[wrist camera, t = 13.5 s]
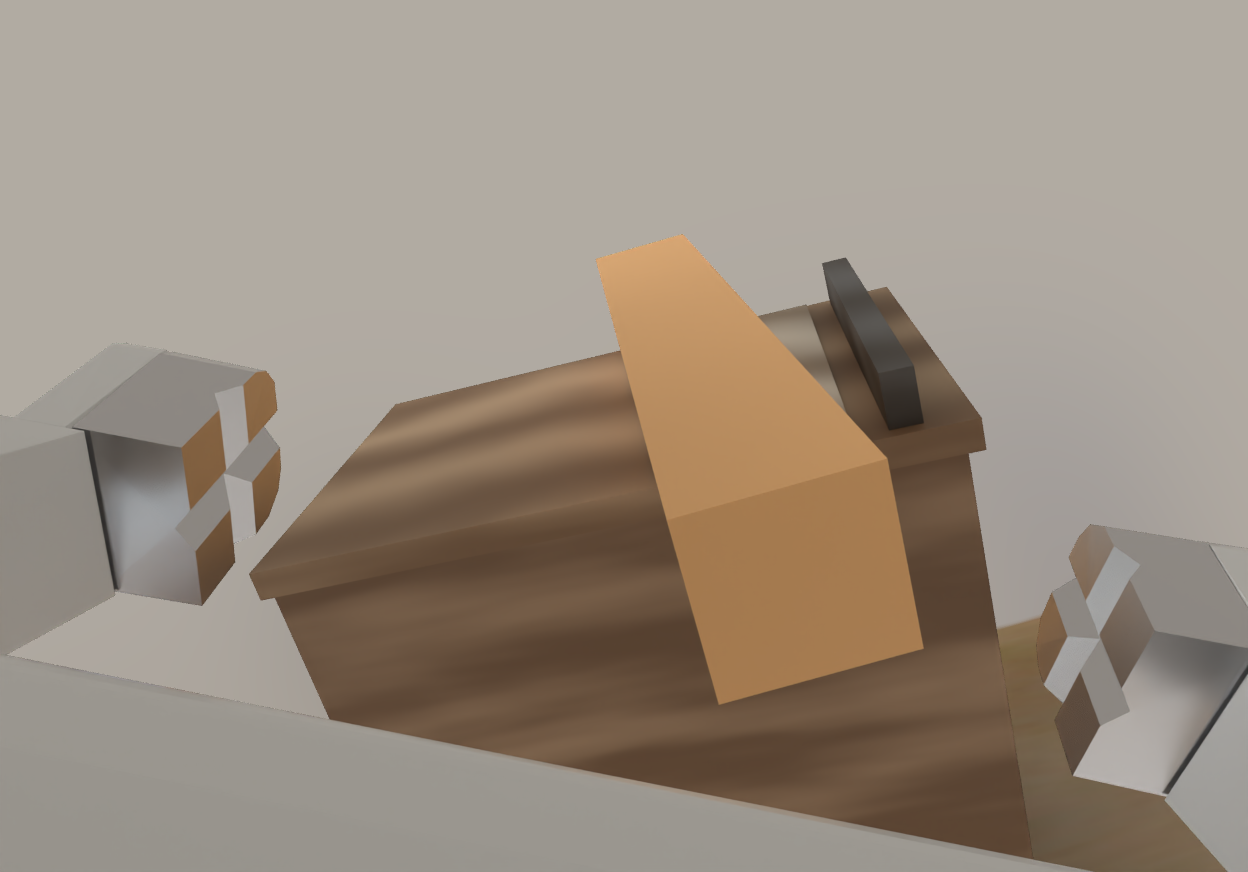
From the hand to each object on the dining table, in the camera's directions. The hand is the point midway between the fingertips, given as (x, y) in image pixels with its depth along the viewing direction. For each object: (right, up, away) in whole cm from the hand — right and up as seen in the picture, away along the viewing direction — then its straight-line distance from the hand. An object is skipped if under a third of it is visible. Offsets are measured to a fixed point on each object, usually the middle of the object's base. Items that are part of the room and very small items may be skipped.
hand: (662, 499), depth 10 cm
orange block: (+2, +1, +22) cm, 22 cm away
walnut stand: (+6, -22, +36) cm, 43 cm away
